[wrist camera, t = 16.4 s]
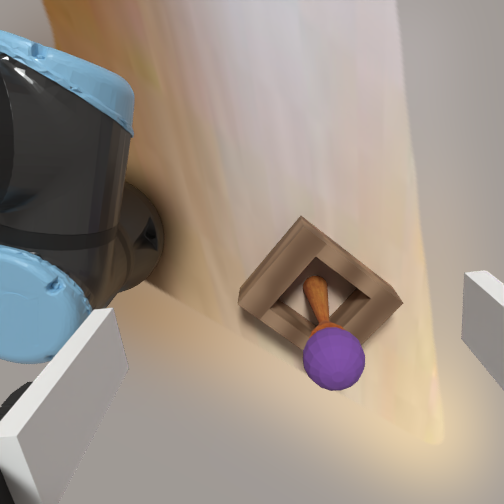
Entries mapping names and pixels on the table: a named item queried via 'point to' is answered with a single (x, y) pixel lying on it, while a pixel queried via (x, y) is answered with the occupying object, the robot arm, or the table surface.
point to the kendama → (330, 344)
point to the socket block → (290, 267)
